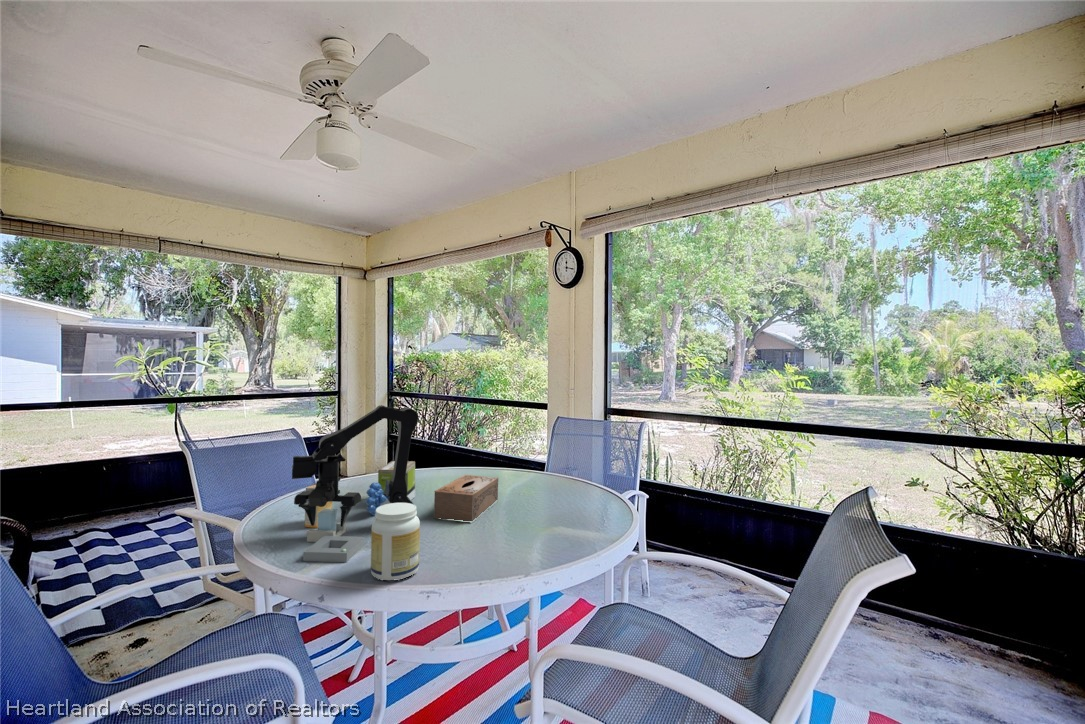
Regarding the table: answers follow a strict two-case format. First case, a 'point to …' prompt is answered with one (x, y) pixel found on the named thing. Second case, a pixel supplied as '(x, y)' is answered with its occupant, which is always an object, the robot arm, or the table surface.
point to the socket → (333, 549)
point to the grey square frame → (325, 532)
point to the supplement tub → (395, 541)
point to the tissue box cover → (465, 497)
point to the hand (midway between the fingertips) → (327, 525)
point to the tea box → (387, 473)
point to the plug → (327, 519)
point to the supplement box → (318, 509)
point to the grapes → (374, 497)
